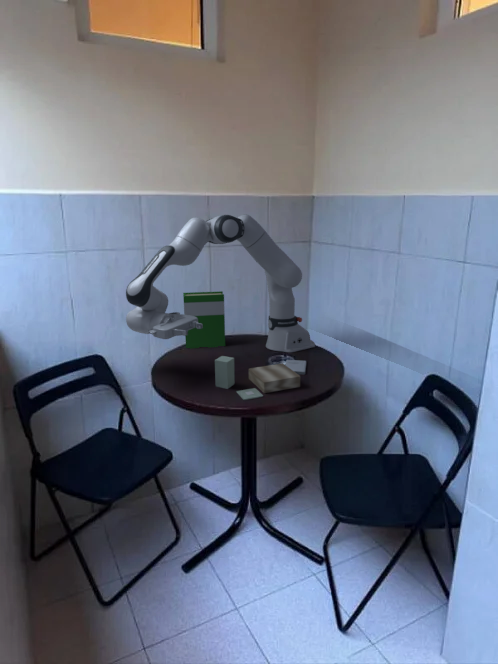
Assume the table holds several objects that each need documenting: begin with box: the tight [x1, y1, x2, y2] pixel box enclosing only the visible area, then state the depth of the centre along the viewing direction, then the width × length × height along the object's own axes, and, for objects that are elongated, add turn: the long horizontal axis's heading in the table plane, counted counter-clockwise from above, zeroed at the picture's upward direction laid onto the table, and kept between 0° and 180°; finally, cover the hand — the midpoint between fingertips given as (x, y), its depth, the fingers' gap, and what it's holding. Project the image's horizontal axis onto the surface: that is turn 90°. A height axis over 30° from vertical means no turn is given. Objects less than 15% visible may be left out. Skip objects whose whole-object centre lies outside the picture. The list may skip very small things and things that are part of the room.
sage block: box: [214, 355, 236, 390], centre depth 159 cm, size 5×5×10 cm
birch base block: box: [248, 363, 301, 394], centre depth 162 cm, size 14×14×4 cm
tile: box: [235, 387, 264, 401], centre depth 152 cm, size 7×7×1 cm
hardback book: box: [182, 290, 226, 349], centre depth 201 cm, size 18×7×24 cm, turn 99°
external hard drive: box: [284, 359, 307, 375], centre depth 176 cm, size 2×8×12 cm
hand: (194, 329), depth 160 cm, fingers open, 8 cm apart
